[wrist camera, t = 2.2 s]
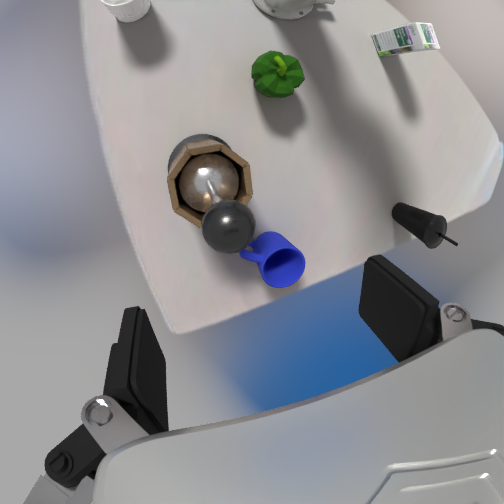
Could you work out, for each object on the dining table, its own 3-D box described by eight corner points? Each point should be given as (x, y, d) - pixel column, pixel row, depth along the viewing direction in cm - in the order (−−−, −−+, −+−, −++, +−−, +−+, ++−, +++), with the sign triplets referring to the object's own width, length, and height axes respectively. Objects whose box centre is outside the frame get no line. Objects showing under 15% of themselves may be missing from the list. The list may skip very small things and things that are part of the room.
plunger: (234, 149, 34) (283, 173, 18) (241, 205, 38) (289, 272, 21) (174, 159, 33) (165, 193, 17) (185, 215, 37) (190, 294, 20)
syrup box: (370, 34, 42) (414, 21, 30) (388, 33, 43) (433, 23, 30) (378, 56, 45) (424, 49, 32) (396, 55, 45) (442, 49, 33)
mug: (240, 214, 54) (252, 234, 45) (293, 233, 59) (313, 254, 50) (224, 252, 57) (233, 277, 48) (276, 267, 61) (293, 292, 52)
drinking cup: (385, 226, 64) (441, 263, 46) (390, 196, 60) (451, 227, 43) (406, 225, 65) (461, 259, 48) (411, 197, 62) (470, 226, 45)
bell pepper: (295, 94, 46) (318, 89, 38) (253, 104, 46) (270, 100, 37) (282, 54, 42) (304, 42, 34) (240, 63, 42) (253, 49, 33)
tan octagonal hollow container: (230, 129, 47) (254, 131, 31) (239, 203, 53) (265, 238, 38) (163, 141, 45) (152, 148, 30) (177, 215, 51) (175, 256, 36)
